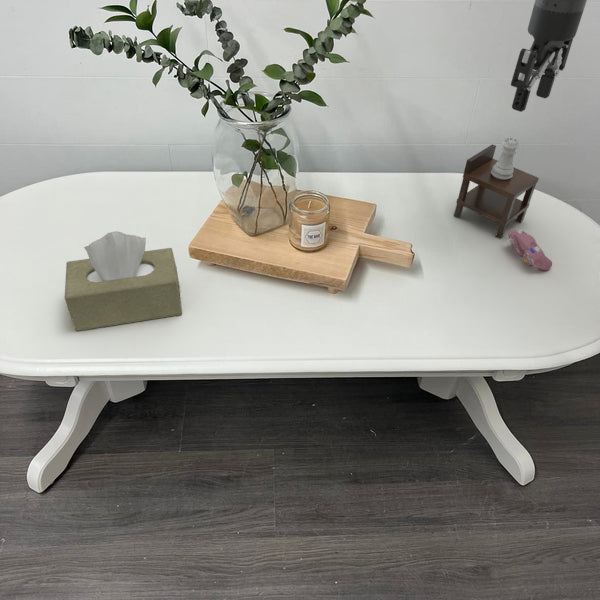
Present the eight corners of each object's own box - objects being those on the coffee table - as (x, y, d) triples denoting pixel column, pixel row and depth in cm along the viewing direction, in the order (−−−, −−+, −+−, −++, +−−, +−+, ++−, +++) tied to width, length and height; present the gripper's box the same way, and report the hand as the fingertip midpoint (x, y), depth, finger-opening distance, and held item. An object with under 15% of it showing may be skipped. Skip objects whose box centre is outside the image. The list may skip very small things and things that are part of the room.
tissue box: (178, 280, 109) (167, 210, 99) (184, 314, 103) (173, 244, 92) (75, 295, 106) (52, 224, 95) (74, 332, 99) (49, 260, 88)
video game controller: (507, 250, 121) (502, 229, 116) (526, 239, 121) (522, 217, 116) (534, 280, 115) (530, 258, 110) (555, 268, 114) (551, 246, 109)
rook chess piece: (486, 171, 121) (496, 136, 115) (503, 168, 122) (514, 133, 117) (498, 182, 118) (509, 146, 112) (516, 178, 119) (528, 143, 114)
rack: (523, 221, 127) (543, 164, 118) (500, 239, 122) (519, 182, 112) (477, 199, 133) (492, 144, 124) (452, 216, 128) (466, 159, 118)
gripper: (560, 17, 85) (529, 122, 96) (602, 0, 92) (568, 98, 103) (515, 6, 89) (490, 108, 99) (558, -10, 96) (531, 86, 107)
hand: (530, 103), depth 101 cm, fingers open, 8 cm apart
